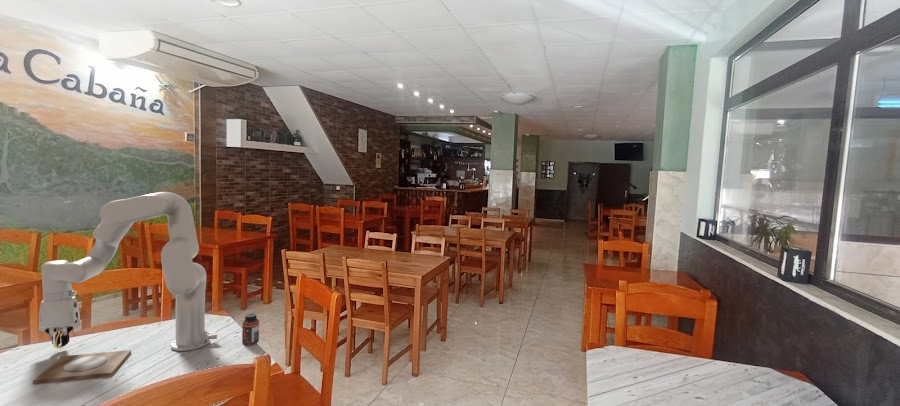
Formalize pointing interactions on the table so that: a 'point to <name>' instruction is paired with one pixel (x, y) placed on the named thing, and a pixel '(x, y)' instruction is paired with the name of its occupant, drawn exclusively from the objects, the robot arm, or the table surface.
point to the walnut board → (83, 366)
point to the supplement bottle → (250, 329)
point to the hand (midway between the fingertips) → (61, 344)
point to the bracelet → (55, 339)
